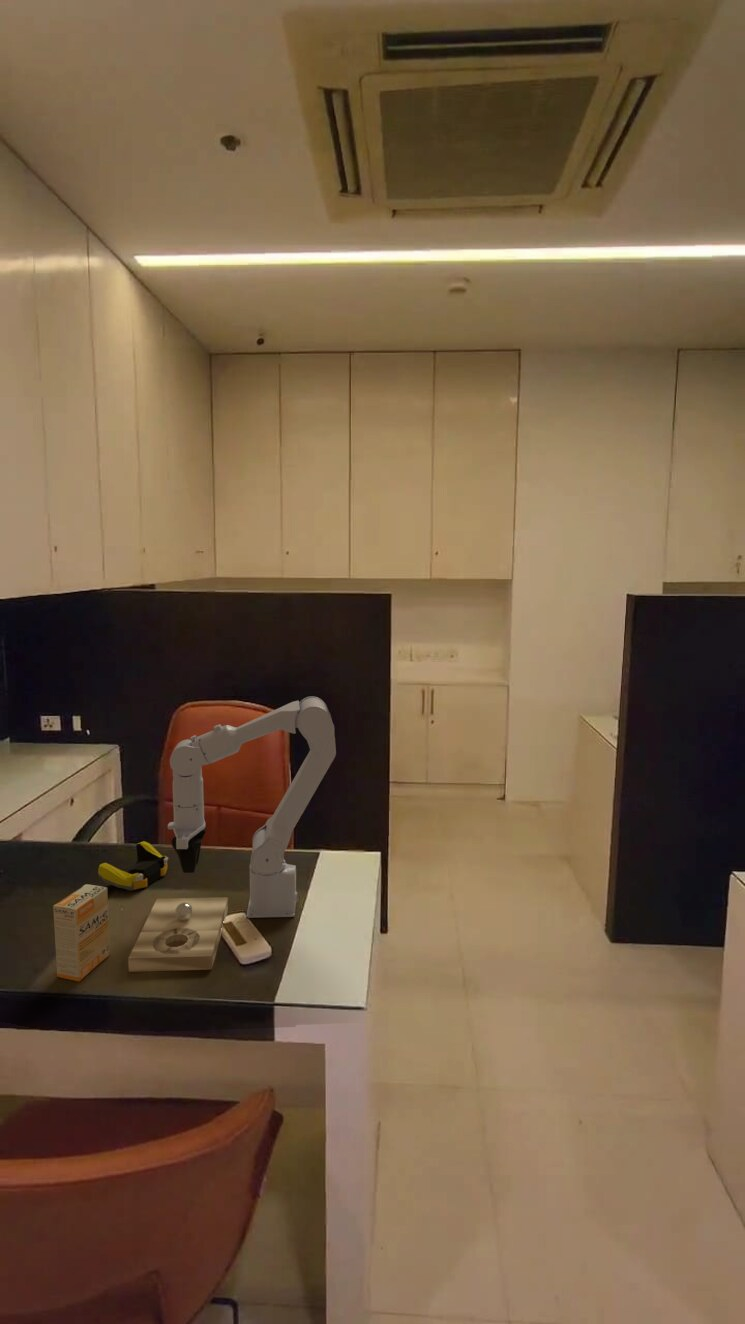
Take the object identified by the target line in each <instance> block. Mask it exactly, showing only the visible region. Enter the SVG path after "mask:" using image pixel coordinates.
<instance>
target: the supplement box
mask: <svg viewBox="0 0 745 1324" xmlns="http://www.w3.org/2000/svg"><path fill="white" fill-rule="evenodd" d="M108 903H109V902H108V887H105V886H101V885H95V884H87V883H86V884H84V885H83V886H81V887H80V888H78V889H76V890H75V891H73V892H72V893H70V894H69V895H68V896H66V897H64V898H63V899H61V900H60V901H59V902H57V903H55V904H54V905H53V906H52V909H53V910H52V911H53V926H54V942H55V943H54V944H55V958H56V959H55V961H56V976H57V977H58V978H60V979H65V980H70V981H75V982H78V983H79V982H81V981H82V980H83V979H84V978H85V977H86V976H87V975H88V974H90V972H92V971H93V970H94V969H95V968H97V967H98V965H99V964H101V963H102V962H103V961H105V960H106V959H107V958H108V957H110V954H111V952H110V950H111V949H110V928H109V927H110V925H109V924H110V923H109V922H110V921H109V906H108Z"/></svg>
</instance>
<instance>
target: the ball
mask: <svg viewBox="0 0 745 1324" xmlns="http://www.w3.org/2000/svg"><path fill="white" fill-rule="evenodd" d="M175 914H176V917H177V918H178V919H179V920H181V921H185V920H188V919H189V918H190V917H191V916H192V914H193V908H192V906H191V905H190V904H189V903H181V904H179V905H178V906H177V908H176V911H175Z"/></svg>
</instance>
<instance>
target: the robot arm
mask: <svg viewBox="0 0 745 1324" xmlns="http://www.w3.org/2000/svg"><path fill="white" fill-rule="evenodd" d="M324 701H325V700H324ZM324 701H323V699H321V698H319V697H317V696H306V697H305V698H303V699H301V700H300V701H299V700H295V701H291V702H289V703H287V704H285V705H282V706H281V707H278V708H276V709H273V710H272V711H269V712H267V713H264V714H263V715H261V716H259V717H257V718H255V719H254V718H253V719H252V720H249V721H248V722H245V723H244V724H241V725H240V726H237V727H235V726H232V725H229V724H226V725H225V724H224V725H222V724H217V725H214V726H213V730H211V731H208V732H206V733H204V734H201V735H199V736H197V735H196V734H194V735H192V736H191V737H190V738H189V739H184V740H181V741H179V742H178V743H177V744H176V745H175V747H174V749H173V750H172V753H171V754H170V756H169V757H170V758H169V765H170V769H171V770H172V777H173V779H172V805H173V807H172V808H173V821H170V822H168V824H167V829H168V830H173V832H174V835H175V837H174V836H173V837H172V839H171V847H172V848H173V850H174V851H175V852H176V853H177V854H176V855H177V856H178V860H179V863H180V867H181V870H182V872H183V874H185V873H191V874H192V873H193V874H194V873H195V870H196V867H197V865H198V862H199V860H200V855H201V854H200V853H201V848H202V847H201V846H202V844H203V843H202V842H203V840H204V839H203V838H204V836H205V834H206V831H207V830H208V828H207V826H206V821H205V802H204V795H205V794H204V778H203V770H202V767H203V766H207V765H209V764H213V763H215V762H218V761H220V760H222V759H225V758H227V757H230V756H232V755H234V754H237V753H238V752H239V751H240V749H241V747H242V745H243V744H245V743H247V742H250V741H252V740H256V739H258V738H261V737H263V736H266V735H269V734H272V733H275V732H278V731H284V732H286V733H287V732H288V733H290V734H297V733H296V728H297V729H298V731H299V733H301V736H303V738H304V739H305V740H306V741H307V744H308V748H309V751H308V754H307V755H306V757H305V758H304V760H303V762H302V764H301V765H300V767H299V769H298V771H297V772H296V774H295V776H294V778H293V780H292V781H291V782H290V784H289V786H288V787H287V790H286V791H285V793H284V795H283V797H282V798H281V800H280V802H279V804H278V806H277V807H276V809H275V811H274V813H273V814H272V815H271V816H270V817H269V818H268V819H267V821H266V822H265V824H264V825H263V826H262V827H259V828H258V829H257V830H256V831H255V832H254V834H253V836H252V840H251V842H252V850H251V855H250V863H249V900H248V904H247V910H246V915H245V916H247V917H248V918H247V917H246V918H247V919H254V918H256V919H258V918H292V917H295V915H296V903H297V902H298V891H297V866H296V865H294V864H289V863H287V862H286V860H285V857H284V856H285V852H286V850H287V848H288V846H289V843H290V839H291V837H292V834H293V833H292V832H293V830H294V828H295V827H296V826H297V823H298V822H299V820H300V818H302V815H303V814H304V812H305V810H306V808H307V806H308V805H309V803H310V801H311V799H312V797H313V796H314V794H315V793H316V792H317V789H318V787H319V785H320V783H321V782H322V780H323V779H324V777H325V775H326V774H327V772H328V770H329V768H330V767H331V764H332V763H333V762H334V759H335V758H336V756H337V750H336V749H337V747H336V737H335V725H334V723H333V719H332V715H331V712H330V711H329V708H328V706H327V704H326V703H325V702H324Z"/></svg>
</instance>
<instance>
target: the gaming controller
mask: <svg viewBox="0 0 745 1324" xmlns="http://www.w3.org/2000/svg"><path fill="white" fill-rule="evenodd" d="M135 852H136V863H134V864H133V865H131V866H130V867H128V868H126V869H125V870H121V868H120V869H119V868H117V867H115V866H113V865H112V864H109V863H107V862H103V863H101V864H99V866H98V869H97V874H98V875H97V876H98V877H99V878H100V879H101V880H102V881H103V882H104V883H106V884H108V885H111V886H114V887H116V888H118V889H119V888H120V889H124V890H127V891H129V892H131V891H132V892H133V891H135V890H140V889H143V888H147V887H148V886H149V885H151V884H152V883H154V882H155V881H157V880H158V879H160V878H161V877H163V876H165V875H166V873H167V872H168V871H167V870H168V869H169V868H168V861H169V857H168V856H166V855H162V854H161V853H160V852H159V851H158V850H156V848H155V847H154V846H153V845H152V844H150V843H149V842H147V841H145V840H143V841H140V842H138V843H136V846H135Z"/></svg>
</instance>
